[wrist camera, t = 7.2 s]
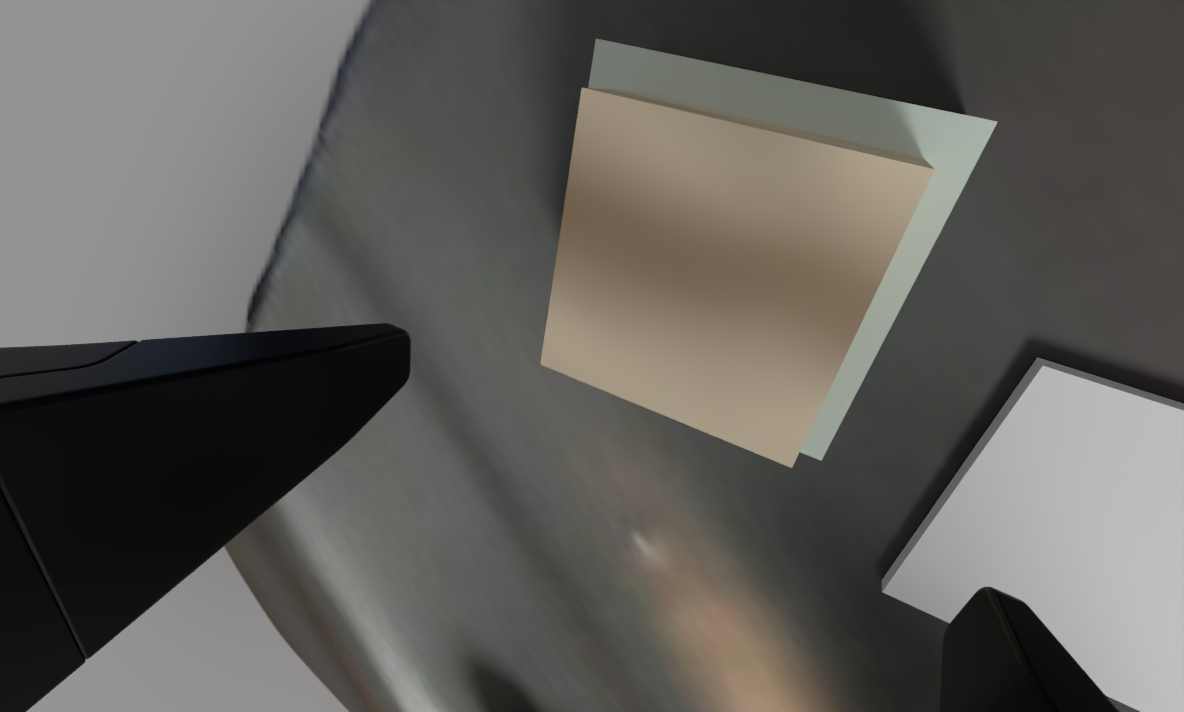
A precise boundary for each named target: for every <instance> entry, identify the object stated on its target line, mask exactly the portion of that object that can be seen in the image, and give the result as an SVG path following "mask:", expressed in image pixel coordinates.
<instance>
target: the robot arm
mask: <svg viewBox="0 0 1184 712" xmlns="http://www.w3.org/2000/svg"><path fill="white" fill-rule="evenodd" d="M410 355H411V339H410V336H409V333H408V332H407V331H405V330H403V329H401V328H399V327H396V326H394V325H392V324H388V323H380V324H366V325H352V326H337V327H323V328H308V329H294V330H280V331H265V332H251V333H238V334H223V335H208V336H193V337H180V338H165V339H151V340H142V341H140V342H138V341H121V342H106V343H89V344H72V345H55V346H31V347H8V348H0V712H26V711H27V710H29V709H30V708H31V707H32V706H33V705H35V704H36V703H37V702H38V701H39V700H41V699H42V698H43V697H44V696H45V695H47V694H48V693H49V692H50V691H51V690H52V689H54V688H55V687H56V686H57V685H59V684H60V683H61V682H62V681H63V680H65V679H66V678H67V677H68V676H69V675H71V674H72V673H73V672H74V671H75V670H77V669H78V668H79V667H80V666H81V665H82V664H84V663H85V659H89V658H90V657H91V656H92V655H94V654H95V653H96V652H97V651H99V650H100V649H101V648H102V647H103V646H105V645H106V644H107V643H108V642H109V641H111V640H112V639H113V638H114V637H115V636H116V635H118V634H119V633H120V632H121V631H123V630H124V629H125V628H126V627H127V626H129V625H130V624H131V623H132V622H133V621H135V620H136V619H137V618H138V617H139V616H141V615H142V614H143V613H144V612H145V611H147V610H148V609H149V608H150V607H151V606H153V605H154V604H155V603H156V602H157V601H159V600H160V599H161V598H162V597H163V596H165V595H166V594H167V593H168V592H169V591H171V590H172V589H173V588H174V587H175V586H177V585H178V584H179V583H180V582H181V581H183V580H184V579H185V578H186V577H187V576H189V575H190V574H191V573H192V572H193V571H195V570H196V569H197V568H198V567H199V566H200V565H202V564H203V563H204V562H205V561H207V560H208V559H209V558H210V557H211V556H213V555H214V554H215V553H216V552H217V551H219V550H220V549H221V548H222V547H223V546H225V545H226V544H227V543H228V542H229V541H231V540H232V539H233V538H234V537H235V536H237V535H238V534H239V533H240V532H241V531H243V530H244V529H245V528H246V527H247V526H249V525H250V524H251V523H252V522H253V521H255V520H256V519H257V518H258V517H259V516H261V515H262V514H263V513H264V512H265V511H267V510H268V509H269V508H270V507H271V506H273V505H274V504H275V503H276V502H277V501H279V500H280V499H281V498H282V497H283V496H285V495H286V494H287V493H288V492H289V491H291V490H292V489H293V488H294V487H295V486H297V485H298V484H299V483H300V482H301V481H303V480H304V479H305V478H306V477H307V476H309V475H310V474H311V473H312V472H313V471H315V470H316V469H317V468H318V467H319V466H321V465H322V464H323V463H324V462H325V461H327V460H328V459H329V458H330V457H331V456H333V455H334V454H335V453H336V452H337V451H338V450H340V449H341V448H342V447H343V446H344V445H345V444H346V443H347V442H348V441H349V440H350V439H351V438H353V437H354V436H355V435H356V434H357V433H358V432H359V431H360V430H361V429H362V428H363V427H364V426H365V425H366V424H367V423H368V421H369V420H370V419H371V418H372V417H373V416H374V415H375V414H376V413H377V412H378V411H379V410H380V409H381V408H382V407H383V406H384V405H385V404H386V403H387V402H388V401H389V400H390V399H391V398H392V397H393V396H394V395H395V394H396V393H397V392H398V391H399V390H400V389H401V388H402V387H403V386H404V385H405V383H406V382H407V380H408V378H409V375H410ZM938 712H1119V711H1118V709H1117V708H1116V707H1115V706H1114V705H1113V704H1112V702H1111V701H1110V700H1109V699H1108V698H1107V697H1106V695H1105V694H1104V693H1103V692H1102V691H1101V690H1100V688H1099V687H1098V686H1097V685H1096V684H1095V683H1094V681H1093V680H1092V679H1091V678H1090V677H1089V676H1088V675H1087V673H1086V672H1085V671H1084V670H1083V669H1082V668H1081V666H1080V665H1079V664H1078V663H1077V662H1076V661H1075V659H1074V658H1073V657H1072V656H1071V655H1070V654H1069V652H1068V651H1067V650H1066V649H1065V648H1064V647H1063V645H1062V644H1061V643H1060V642H1059V641H1058V640H1057V638H1056V637H1055V636H1054V635H1053V634H1052V633H1051V631H1050V630H1049V629H1048V628H1047V627H1046V626H1045V625H1044V623H1043V622H1042V621H1041V620H1040V619H1039V618H1038V616H1037V615H1036V614H1035V613H1034V612H1033V611H1032V609H1031V608H1030V607H1029V606H1028V605H1027V604H1026V603H1025V602H1023V601H1022V600H1020V599H1018V598H1016V597H1013V596H1011V595H1009V594H1007V593H1004V592H1002V591H1000V590H997V589H995V588H993V587H982V588H981V589H979V590H978V591H977V592H976V593H975V594H974V595H973V596H972V597H971V599H970V600H969V601H968V602H967V603H966V605H965V606H964V607H963V608H962V609H961V611H960V612H959V613H958V614H957V615H956V617H955V618H954V619H953V620H952V621H951V623H950V624H949V625H948V627H947V629H946V632H945V635H944V639H943V649H942V664H941V679H940V694H939V708H938Z"/></svg>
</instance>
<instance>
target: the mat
mask: <svg viewBox="0 0 1184 712" xmlns="http://www.w3.org/2000/svg"><path fill="white" fill-rule="evenodd" d="M982 587H993V588H995V589H997V590H1000V591H1002V592H1004V593H1007V594H1009V595H1011V596H1013V597H1016V598H1018V599H1020V600H1022V601H1023V602H1025V603H1026V604H1027V605H1028V606H1029V607H1030V608H1031V609H1032V611H1033V612H1034V613H1035V614H1036V615H1037V616H1038V618H1039V619H1040V620H1041V621H1042V622H1043V623H1044V625H1045V626H1046V627H1047V628H1048V629H1049V630H1050V631H1051V633H1052V634H1053V635H1054V636H1055V637H1056V638H1057V640H1058V641H1059V642H1060V643H1061V644H1062V645H1063V647H1064V648H1065V649H1066V650H1067V651H1068V652H1069V654H1070V655H1071V656H1072V657H1073V658H1074V659H1075V661H1076V662H1077V663H1078V664H1079V665H1080V666H1081V668H1082V669H1083V670H1084V671H1085V672H1086V673H1087V675H1088V676H1089V677H1090V678H1091V679H1092V680H1093V681H1094V683H1095V684H1096V685H1097V686H1098V687H1099V688H1100V690H1101V691H1102V692H1103V693H1104V694H1105V695H1106V696H1108V697H1110V698H1112V699H1115V700H1117V701H1119V702H1121V703H1123V704H1125V705H1128V706H1130V707H1132V708H1134V709H1136V710H1138V711H1140V712H1184V403H1181V402H1177V401H1174V400H1171V399H1168V398H1165V397H1162V396H1158V395H1155V394H1152V393H1149V392H1146V391H1143V390H1139V389H1136V388H1133V387H1130V386H1127V385H1124V384H1120V383H1117V382H1114V381H1111V380H1108V379H1105V378H1101V377H1098V376H1095V375H1092V374H1089V373H1086V372H1082V371H1079V370H1076V369H1073V368H1070V367H1067V366H1063V365H1060V364H1057V363H1054V362H1051V361H1048V360H1044V359H1041V358H1038V357H1037V358H1036V360H1035V361H1034V363H1033V364H1032V366H1031V367H1030V368H1029V370H1028V371H1027V373H1026V374H1025V376H1024V377H1023V378H1022V380H1021V381H1020V383H1019V384H1018V386H1017V387H1016V388H1015V390H1014V391H1013V393H1012V394H1011V396H1010V397H1009V398H1008V400H1007V401H1006V403H1005V404H1004V406H1003V407H1002V409H1001V410H1000V411H999V413H998V414H997V416H996V417H995V419H994V420H993V421H992V423H991V424H990V426H989V427H988V429H987V430H986V431H985V433H984V434H983V436H982V437H981V439H980V440H979V441H978V443H977V444H976V446H975V447H974V449H973V450H972V452H971V453H970V454H969V456H968V457H967V459H966V460H965V462H964V463H963V464H962V466H961V467H960V469H959V470H958V472H957V473H956V474H955V476H954V477H953V479H952V480H951V482H950V483H949V484H948V486H947V487H946V489H945V490H944V492H943V493H942V495H941V496H940V497H939V499H938V500H937V502H936V503H935V505H934V506H933V507H932V509H931V510H930V512H929V513H928V515H927V516H926V517H925V519H924V520H923V522H922V523H921V525H920V526H919V527H918V529H917V530H916V532H915V533H914V535H913V536H912V538H911V539H910V540H909V542H908V543H907V545H906V546H905V548H904V549H903V550H902V552H901V553H900V555H899V556H898V558H897V559H896V560H895V562H894V563H893V565H892V566H891V568H890V569H889V571H888V572H887V573H886V575H885V576H884V578H883V579H882V592H883V593H885V594H887V595H889V596H892V597H894V598H896V599H898V600H900V601H902V602H905V603H907V604H909V605H911V606H913V607H915V608H918V609H920V610H922V611H924V612H926V613H928V614H931V615H933V616H935V617H937V618H939V619H941V620H943V621H946V622H948V623H951V621H952V620H953V619H954V618H955V617H956V615H957V614H958V613H959V612H960V611H961V609H962V608H963V607H964V606H965V605H966V603H967V602H968V601H969V600H970V599H971V597H972V596H973V595H974V594H975V593H976V592H977V591H978V590H979V589H981V588H982Z"/></svg>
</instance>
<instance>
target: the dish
mask: <svg viewBox="0 0 1184 712" xmlns="http://www.w3.org/2000/svg"><path fill="white" fill-rule="evenodd" d="M588 88H602V89H624V90H629V91H634V92H638V93H642V94H647V95H651V96H656V97H660V98H665V99H669V100H673V101H678V102H682V103H687V104H691V105H695V106H700V107H704V108H709V109H713V110H717V111H722V112H726V113H731V114H735V115H739V116H744V117H748V118H753V119H757V120H762V121H766V122H770V123H775V124H779V125H784V126H788V127H792V128H797V129H801V130H806V131H810V132H814V133H819V134H823V135H828V136H832V137H836V138H841V139H845V140H850V141H854V142H858V143H863V144H867V145H872V146H876V147H881V148H885V149H889V150H894V151H898V152H903V153H907V154H911V155H916V156H920V157H923V158H924V159H925V160H926V161H927V162H928V163H929V164H930V165H931V166H932V167H933V168H934V169H935V171H934V173H933V175H932V177H931V179H930V181H929V183H928V185H927V187H926V189H925V191H924V194H923V196H922V198H921V200H920V202H919V204H918V206H917V208H916V210H915V212H914V214H913V216H912V219H911V221H910V223H909V225H908V227H907V229H906V231H905V233H904V235H903V237H902V239H901V242H900V244H899V246H898V248H897V250H896V252H895V254H894V256H893V258H892V260H891V262H890V264H889V267H888V269H887V271H886V273H885V275H884V277H883V279H882V281H881V283H880V285H879V287H878V289H877V292H876V294H875V296H874V298H873V300H872V302H871V304H870V306H869V308H868V310H867V312H866V315H865V317H864V319H863V321H862V323H861V325H860V327H859V329H858V331H857V333H856V335H855V337H854V340H853V342H852V344H851V346H850V348H849V350H848V352H847V354H846V356H845V358H844V360H843V363H842V365H841V367H840V369H839V371H838V373H837V375H836V377H835V379H834V381H833V383H832V385H831V388H830V390H829V392H828V394H827V396H826V398H825V400H824V402H823V404H822V406H821V408H820V411H819V413H818V415H817V417H816V419H815V421H814V423H813V425H812V427H811V429H810V431H809V433H808V436H807V438H806V440H805V442H804V444H803V446H802V448H801V450H800V452H801V453H803V454H806V455H808V456H811V457H813V458H816V459H818V460H820V461H821V460H822V459H823V457H824V455H825V453H826V451H827V449H828V447H829V445H830V443H831V441H832V439H833V437H834V435H835V434H836V432H837V430H838V428H839V426H840V424H841V422H842V420H843V418H844V416H845V414H846V412H847V410H848V409H849V407H850V405H851V403H852V401H853V399H854V397H855V395H856V393H857V391H858V389H859V387H860V385H861V384H862V382H863V380H864V378H865V376H866V374H867V372H868V370H869V368H870V366H871V364H872V362H873V361H874V359H875V357H876V355H877V353H878V351H879V349H880V347H881V345H882V343H883V341H884V339H885V337H886V336H887V334H888V332H889V330H890V328H891V326H892V324H893V322H894V320H895V318H896V316H897V314H898V312H899V311H900V309H901V307H902V305H903V303H904V301H905V299H906V297H907V295H908V293H909V291H910V289H911V287H912V286H913V284H914V282H915V280H916V278H917V276H918V274H919V272H920V270H921V268H922V266H923V264H924V262H925V261H926V259H927V257H928V255H929V253H930V251H931V249H932V247H933V245H934V243H935V241H936V239H937V238H938V236H939V234H940V232H941V230H942V228H943V226H944V224H945V222H946V220H947V218H948V216H949V214H950V213H951V211H952V209H953V207H954V205H955V203H956V201H957V199H958V197H959V195H960V193H961V191H962V189H963V188H964V186H965V184H966V182H967V180H968V178H969V176H970V174H971V172H972V170H973V168H974V166H975V164H976V163H977V161H978V159H979V157H980V155H981V153H982V151H983V149H984V147H985V145H986V143H987V141H988V140H989V138H990V136H991V134H992V132H993V130H994V128H995V126H996V124H997V122H996V121H991V120H987V119H982V118H977V117H972V116H967V115H963V114H958V113H953V112H948V111H943V110H938V109H934V108H929V107H924V106H919V105H914V104H910V103H905V102H900V101H895V100H890V99H885V98H881V97H876V96H871V95H866V94H861V93H856V92H852V91H847V90H842V89H837V88H832V87H828V86H823V85H818V84H813V83H808V82H803V81H799V80H794V79H789V78H784V77H779V76H774V75H770V74H765V73H760V72H755V71H750V70H746V69H741V68H736V67H731V66H726V65H721V64H717V63H712V62H707V61H702V60H697V59H692V58H688V57H683V56H678V55H673V54H668V53H664V52H659V51H654V50H649V49H644V48H639V47H635V46H630V45H625V44H620V43H615V42H611V41H606V40H601V39H596V41H595V48H594V54H593V60H592V66H591V73H590V79H589V85H588Z"/></svg>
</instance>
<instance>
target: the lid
mask: <svg viewBox="0 0 1184 712" xmlns="http://www.w3.org/2000/svg"><path fill="white" fill-rule="evenodd" d="M934 171H935V169H934V168H933V167H932V166H931V165H930V164H929V163H928V162H927V161H926V160H925V159H924V158H923V157H920V156H916V155H911V154H907V153H903V152H898V151H894V150H889V149H885V148H881V147H876V146H872V145H867V144H863V143H858V142H854V141H850V140H845V139H841V138H836V137H832V136H828V135H823V134H819V133H814V132H810V131H806V130H801V129H797V128H792V127H788V126H784V125H779V124H775V123H770V122H766V121H762V120H757V119H753V118H748V117H744V116H739V115H735V114H731V113H726V112H722V111H717V110H713V109H709V108H704V107H700V106H695V105H691V104H687V103H682V102H678V101H673V100H669V99H665V98H660V97H656V96H651V95H647V94H642V93H638V92H634V91H629V90H624V89H602V88H582V89H581V96H580V102H579V109H578V116H577V122H576V129H575V136H574V143H573V149H572V156H571V163H570V169H569V176H568V183H567V189H566V196H565V203H564V210H563V216H562V223H561V230H560V236H559V243H558V250H557V256H556V263H555V270H554V277H553V283H552V290H551V297H550V303H549V310H548V317H547V323H546V330H545V337H544V344H543V350H542V357H541V365H543V366H545V367H548V368H550V369H553V370H555V371H558V372H560V373H562V374H565V375H567V376H570V377H572V378H574V379H577V380H579V381H582V382H584V383H587V384H589V385H591V386H594V387H596V388H599V389H601V390H604V391H606V392H608V393H611V394H613V395H616V396H618V397H621V398H623V399H625V400H628V401H630V402H633V403H635V404H638V405H640V406H642V407H645V408H647V409H650V410H652V411H655V412H657V413H659V414H662V415H664V416H667V417H669V418H671V419H674V420H676V421H679V422H681V423H684V424H686V425H688V426H691V427H693V428H696V429H698V430H701V431H703V432H705V433H708V434H710V435H713V436H715V437H718V438H720V439H722V440H725V441H727V442H730V443H732V444H735V445H737V446H739V447H742V448H744V449H747V450H749V451H752V452H754V453H756V454H759V455H761V456H764V457H766V458H768V459H771V460H773V461H776V462H778V463H781V464H783V465H785V466H788V467H790V468H792V467H793V465H794V463H795V461H796V458H797V456H798V454H799V452H800V450H801V448H802V446H803V444H804V442H805V440H806V438H807V436H808V433H809V431H810V429H811V427H812V425H813V423H814V421H815V419H816V417H817V415H818V413H819V411H820V408H821V406H822V404H823V402H824V400H825V398H826V396H827V394H828V392H829V390H830V388H831V385H832V383H833V381H834V379H835V377H836V375H837V373H838V371H839V369H840V367H841V365H842V363H843V360H844V358H845V356H846V354H847V352H848V350H849V348H850V346H851V344H852V342H853V340H854V337H855V335H856V333H857V331H858V329H859V327H860V325H861V323H862V321H863V319H864V317H865V315H866V312H867V310H868V308H869V306H870V304H871V302H872V300H873V298H874V296H875V294H876V292H877V289H878V287H879V285H880V283H881V281H882V279H883V277H884V275H885V273H886V271H887V269H888V267H889V264H890V262H891V260H892V258H893V256H894V254H895V252H896V250H897V248H898V246H899V244H900V242H901V239H902V237H903V235H904V233H905V231H906V229H907V227H908V225H909V223H910V221H911V219H912V216H913V214H914V212H915V210H916V208H917V206H918V204H919V202H920V200H921V198H922V196H923V194H924V191H925V189H926V187H927V185H928V183H929V181H930V179H931V177H932V175H933V173H934Z"/></svg>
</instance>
